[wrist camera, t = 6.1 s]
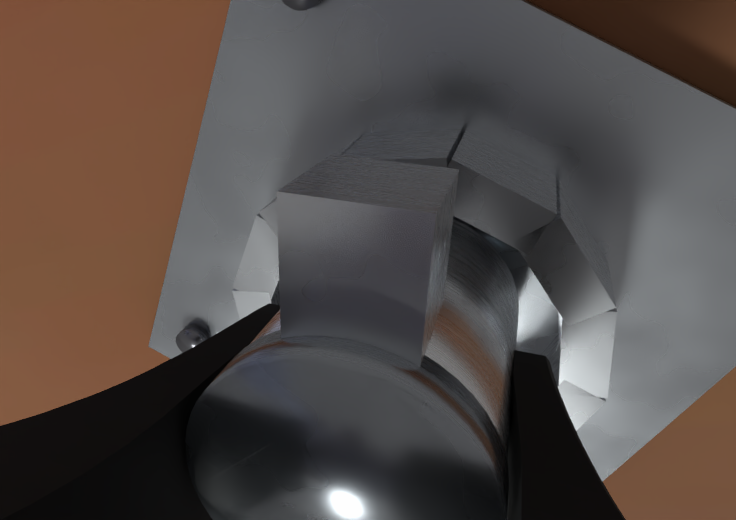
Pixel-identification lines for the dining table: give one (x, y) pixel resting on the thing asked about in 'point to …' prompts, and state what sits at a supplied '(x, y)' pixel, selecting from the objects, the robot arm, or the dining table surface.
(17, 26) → the dining table surface
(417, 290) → the cylinder with square knob
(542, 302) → the duct flange
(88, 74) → the dining table surface
